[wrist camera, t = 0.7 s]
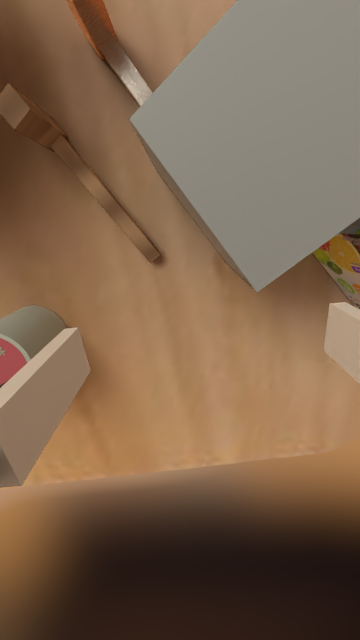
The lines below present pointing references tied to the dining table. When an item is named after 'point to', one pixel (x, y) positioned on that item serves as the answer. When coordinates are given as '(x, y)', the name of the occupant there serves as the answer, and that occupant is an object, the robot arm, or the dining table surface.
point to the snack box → (343, 260)
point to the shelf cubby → (264, 131)
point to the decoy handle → (69, 160)
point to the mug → (25, 337)
